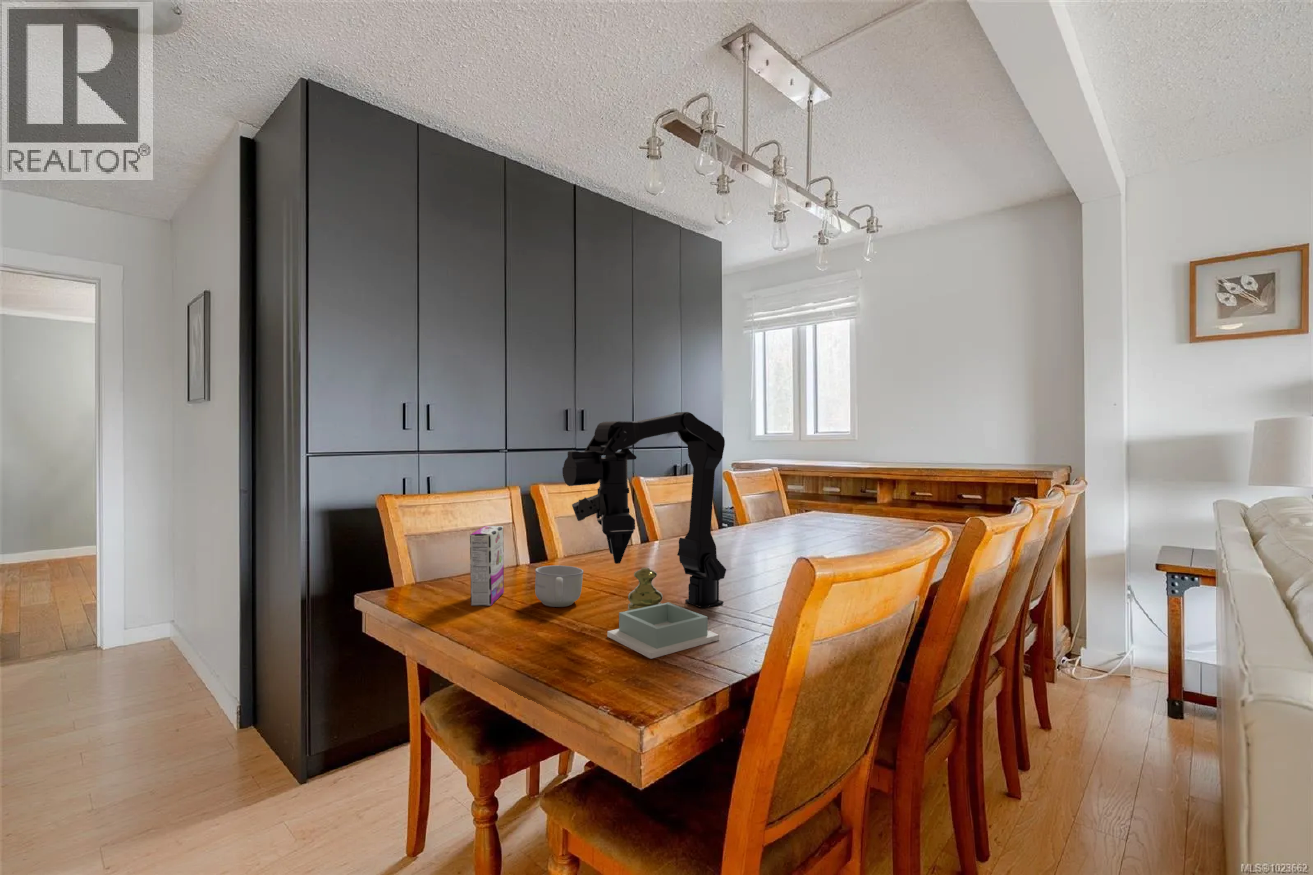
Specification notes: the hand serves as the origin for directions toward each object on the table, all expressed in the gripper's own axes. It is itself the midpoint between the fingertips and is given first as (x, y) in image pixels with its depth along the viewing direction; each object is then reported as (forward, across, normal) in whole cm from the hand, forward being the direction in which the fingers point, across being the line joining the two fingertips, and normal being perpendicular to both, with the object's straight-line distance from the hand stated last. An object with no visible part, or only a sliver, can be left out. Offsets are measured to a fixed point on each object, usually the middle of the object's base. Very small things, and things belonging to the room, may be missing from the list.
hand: (614, 558), depth 123 cm
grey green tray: (+13, +11, +8) cm, 19 cm away
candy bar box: (+13, -21, -28) cm, 37 cm away
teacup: (+13, -14, -12) cm, 23 cm away
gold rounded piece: (+14, -4, +7) cm, 16 cm away
